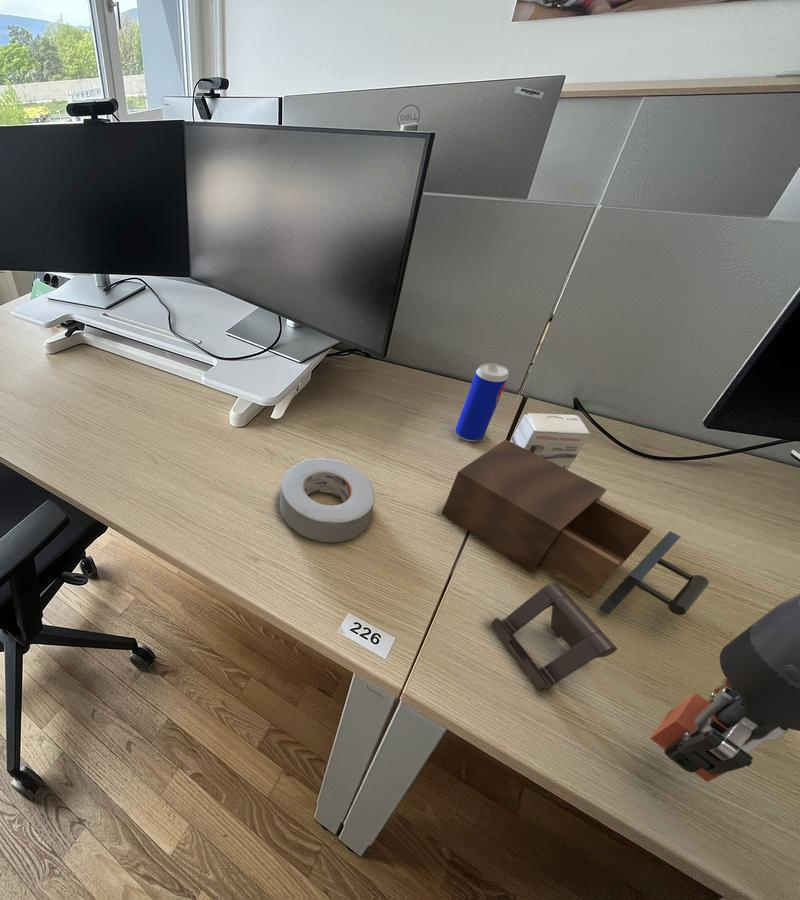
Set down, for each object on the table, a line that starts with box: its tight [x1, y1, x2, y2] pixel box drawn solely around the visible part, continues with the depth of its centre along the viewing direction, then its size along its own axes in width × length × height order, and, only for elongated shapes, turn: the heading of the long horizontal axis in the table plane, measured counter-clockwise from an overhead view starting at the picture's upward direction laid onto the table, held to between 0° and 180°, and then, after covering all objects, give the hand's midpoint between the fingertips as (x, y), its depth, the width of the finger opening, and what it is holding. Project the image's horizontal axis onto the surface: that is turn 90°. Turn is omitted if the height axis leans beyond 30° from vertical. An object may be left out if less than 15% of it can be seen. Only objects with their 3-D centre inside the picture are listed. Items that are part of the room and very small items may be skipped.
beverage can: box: [455, 362, 509, 442], centre depth 88 cm, size 5×5×15 cm
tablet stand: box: [490, 581, 618, 691], centre depth 57 cm, size 9×8×8 cm
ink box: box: [510, 412, 592, 471], centre depth 80 cm, size 9×5×12 cm, turn 80°
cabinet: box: [441, 439, 607, 574], centre depth 72 cm, size 15×13×10 cm
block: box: [649, 692, 728, 783], centre depth 44 cm, size 4×4×4 cm
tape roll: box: [279, 457, 376, 543], centre depth 79 cm, size 15×15×5 cm
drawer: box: [540, 499, 710, 616], centre depth 64 cm, size 19×12×8 cm, turn 33°
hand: (689, 743), depth 45 cm, fingers closed on block, 4 cm apart
